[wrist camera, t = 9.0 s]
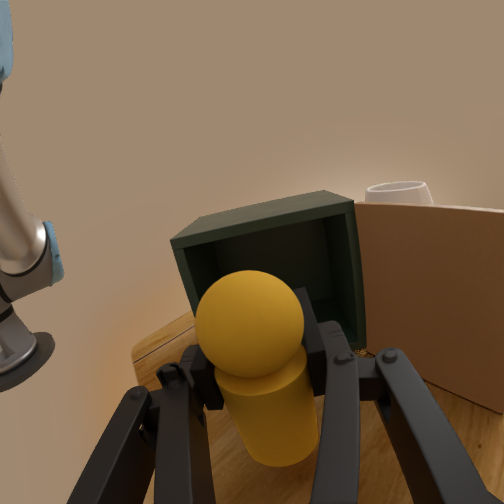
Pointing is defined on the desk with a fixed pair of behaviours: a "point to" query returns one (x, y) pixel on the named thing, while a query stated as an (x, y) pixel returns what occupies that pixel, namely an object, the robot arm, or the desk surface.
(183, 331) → the desk surface
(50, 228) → the robot arm
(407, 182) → the white tapered cylinder
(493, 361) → the cabinet door
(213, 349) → the toy
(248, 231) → the cabinet
